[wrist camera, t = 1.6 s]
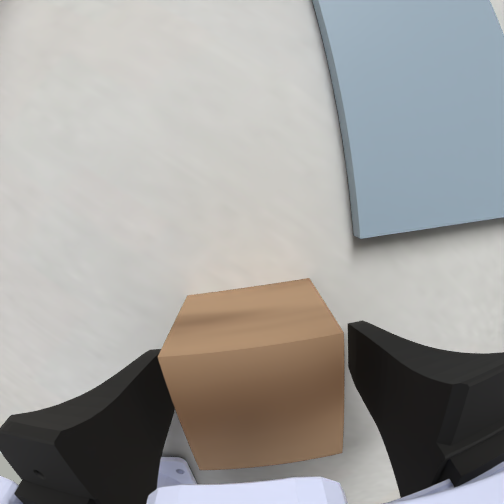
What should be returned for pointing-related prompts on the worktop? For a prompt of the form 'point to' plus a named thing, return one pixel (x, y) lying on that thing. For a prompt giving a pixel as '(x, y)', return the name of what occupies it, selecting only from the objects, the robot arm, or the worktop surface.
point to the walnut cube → (257, 375)
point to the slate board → (418, 110)
